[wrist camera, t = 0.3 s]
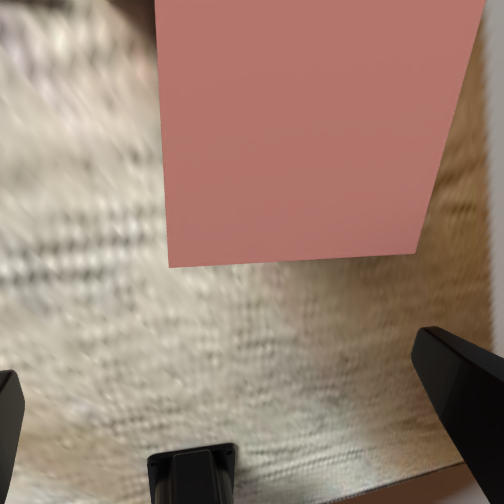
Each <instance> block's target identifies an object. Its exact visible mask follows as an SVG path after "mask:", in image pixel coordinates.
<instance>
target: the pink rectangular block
mask: <svg viewBox="0 0 504 504" xmlns="http://www.w3.org/2000/svg"><path fill="white" fill-rule="evenodd" d="M485 1H486V0H154V2H155V21H156V40H157V59H158V78H159V97H160V117H161V135H162V153H163V171H164V189H165V207H166V225H167V243H168V261H169V268H176V267H193V266H210V265H227V264H245V263H262V262H279V261H296V260H313V259H330V258H347V257H364V256H381V255H398V254H415V251H416V248H417V244H418V241H419V237H420V233H421V230H422V226H423V223H424V219H425V216H426V212H427V208H428V205H429V201H430V198H431V194H432V190H433V187H434V183H435V180H436V176H437V173H438V169H439V165H440V162H441V158H442V155H443V151H444V148H445V144H446V140H447V137H448V133H449V130H450V126H451V123H452V119H453V115H454V112H455V108H456V105H457V101H458V97H459V94H460V90H461V87H462V83H463V80H464V76H465V72H466V69H467V65H468V62H469V58H470V55H471V51H472V47H473V44H474V40H475V37H476V33H477V29H478V26H479V22H480V19H481V15H482V12H483V8H484V4H485Z"/></svg>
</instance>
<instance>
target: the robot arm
mask: <svg viewBox="0 0 504 504" xmlns="http://www.w3.org/2000/svg"><path fill="white" fill-rule="evenodd" d="M411 360H412V363H413V366H414V368H415V370H416V372H417V374H418V376H419V378H420V380H421V382H422V384H423V386H424V389H425V391H426V393H427V395H428V397H429V399H430V401H431V403H432V405H433V407H434V409H435V411H436V413H437V415H438V417H439V419H440V421H441V423H442V424H443V426H444V428H445V430H446V431H447V433H448V435H449V436H450V438H451V439H452V441H453V443H454V444H455V446H456V448H457V449H458V451H459V453H460V454H461V456H462V458H463V459H464V461H465V463H466V464H467V466H468V468H469V469H470V471H471V473H472V474H473V476H474V478H475V479H476V481H477V483H478V484H479V486H480V487H481V489H482V491H483V492H484V494H485V496H486V497H487V499H488V501H489V502H490V504H504V358H502V357H500V356H498V355H496V354H494V353H491V352H489V351H487V350H485V349H483V348H481V347H479V346H477V345H475V344H473V343H471V342H469V341H466V340H464V339H462V338H460V337H458V336H456V335H454V334H452V333H450V332H448V331H446V330H444V329H441V328H439V327H436V326H431V327H422V328H420V329H419V330H418V332H417V335H416V338H415V342H414V345H413V349H412V352H411ZM24 410H25V400H24V396H23V392H22V389H21V385H20V382H19V378H18V375H17V373H16V372H15V371H14V370H2V371H0V504H4V503H5V500H6V496H7V493H8V490H9V486H10V481H11V477H12V472H13V467H14V462H15V457H16V452H17V447H18V441H19V436H20V431H21V426H22V421H23V416H24ZM234 466H235V448H234V445H233V444H224V445H217V446H210V447H204V448H197V449H190V450H183V451H177V452H170V453H163V454H157V455H152V456H150V457H149V458H148V459H147V468H148V477H149V486H150V495H151V504H234V500H233V486H234Z"/></svg>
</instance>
